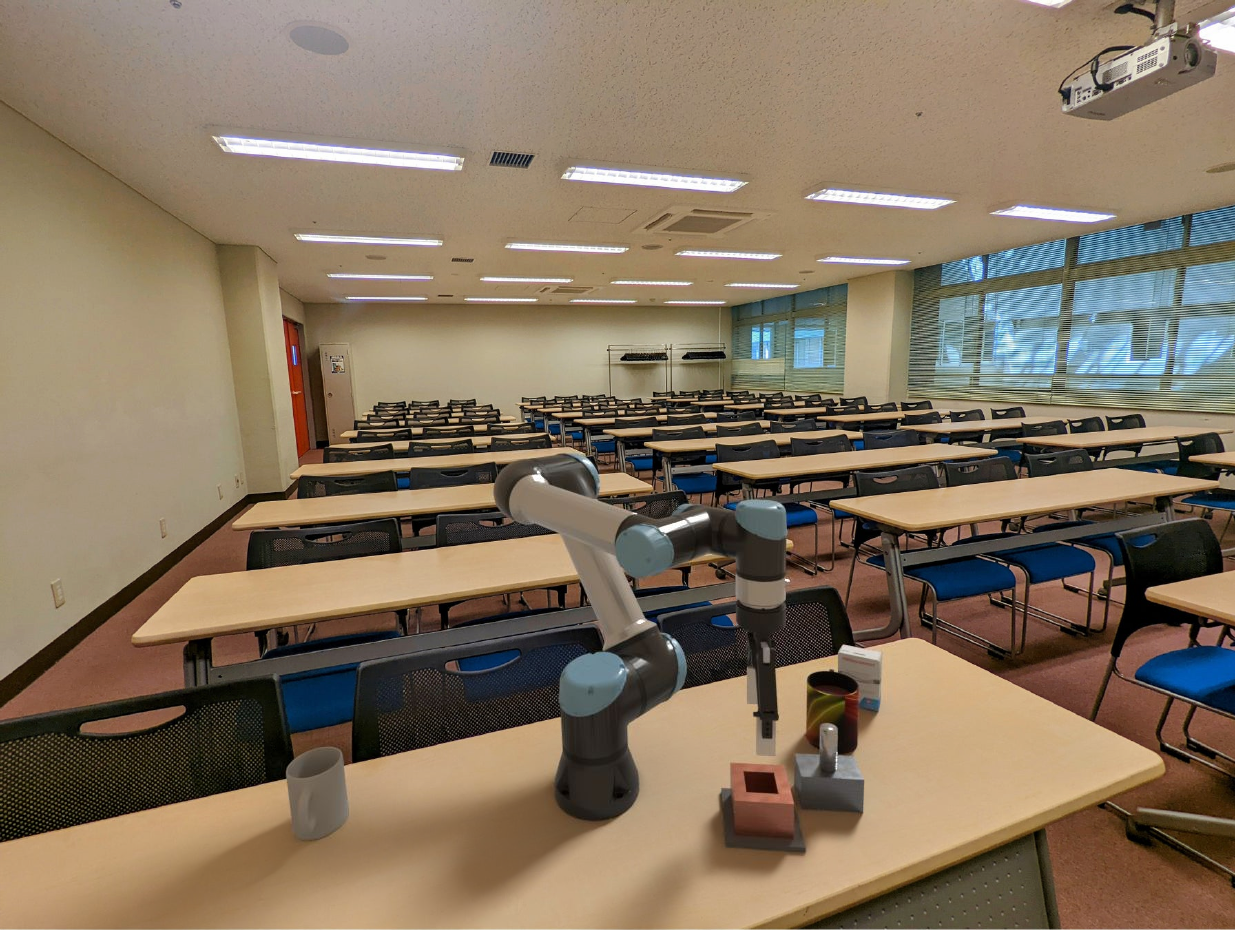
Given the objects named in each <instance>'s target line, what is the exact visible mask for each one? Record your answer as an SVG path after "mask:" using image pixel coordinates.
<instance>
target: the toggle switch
mask: <svg viewBox="0 0 1235 930" xmlns="http://www.w3.org/2000/svg"><path fill="white" fill-rule="evenodd" d="M837 740H838V729H837V727H836V726H835V725H833V724H829V723H823V724H821V725H820V750H819V754H818V753H817V754H816V753H796V752H795V753H794V775H793V776H794V777H793V778H794V779H793V780H794V781H793V782H794V783H793V784H794V788H795V791H796V796H797V799H798V803H799V807H800V810H808V811H809V810H811V811H827V812H843V813H846V812H847V813H861V814H863V813H864V804H865V803H864V800H865V799H864V797H865V779H864V776H863V774H862V771H861V770H860V767H859V765H858V763H857V761H856V758H855V756H854V755H842V754H837Z"/></svg>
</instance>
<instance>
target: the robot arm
mask: <svg viewBox="0 0 1235 930" xmlns="http://www.w3.org/2000/svg"><path fill="white" fill-rule="evenodd" d="M599 484H601V480H600V476H599V473H598V470H597V468H596V467H595V465H594V463H593V462H591V460H590V459H588V457H586V456H584V455H582V454H579V453H574V452H573V453H568V452H567V453H566V452H563V453H557V454H553V455H548V456H547V455H546V456H540V457H532V458H523V459H519V460H515V461H513V462H511V463H509V464H508V465H506V466H504V467H503V468H502V469H501V471H500V472H499V473H498V475H497V476H496V478H495V482H494V484H493V498H494V503H495V504H496V507H497V508H498V509H499V512H501V514H503V515H504V516H505V517H506V518H508V519H510V520H512V521H514V522H516V523H519V524H522V525H525V526H526V525H527V526H529V525H534V524H535V525H539V526H541V527H543V528H545V529H548V530H550V531H553V532H556V533H558V534H560V536H561V539H562V541H563V543H564V546H565V548H566V550H567V552H568V554H569V557H570V559H571V561H572V564H573V566H574V568H575V570H576V573H577V575H578V578H579V579H580V583H581V584H582V587H583V589H584V592H585V594H586V596H587V599H588V600H589V602H590V605H591V607H592V609H593V611H594V614H595V616H596V618H597V620H598V623H599V625H600V627H601V630H602V632H603V634H604V636H605V641H604V644H603V646H602V647H603V648H602V651H596V652H595V653H593V654H592V653H591V652H589V653H588V652H587V653H585V654H583V655H582V654H581V655H580V656H578V657H576V658H575V659H573V660H571V661H570V662H569V663H568V664H567V665H566V666H565V667H564V668H563V671H562V672H561V675H560V678H559V692H558V703H559V707H560V725H561V727H560V728H561V729H560V730H561V746H562V751H561V755H560V758H559V762H558V765H557V769H556V772H555V776H554V781H553V783H554V785H553V786H554V798H555V801H556V803H557V805H558V806H559V807H560V808H561V809H562V810H563V811H564V812H565V813H567V814H568V815H570V816H571V817H573V818H574V817H575V818H577V819H581V820H585V821H586V820H587V821H600V820H606V819H611V818H613V817H617V816H619V815H621V814H623V813H624V812H625V811H627V810H628V809H630V808H631V807H632V805H634V803H635V801H636V800H637V798H638V796H639V793H640V775H639V771H638V770H639V769H638V767H637V766H636V763H635V760H634V758H633V755H632V753H631V750H630V748H629V736H628V726H629V725H630V724H631V723H632V722H633V721H636V720H637V719H638V718H640V717H642V716H643V715H645V714H647V713H648V712H649V711H651V710H653V709H654V708H656V707H658V706H659V705H660V704H661V703H665V702H667V701H669V700H670V699H671V698H672V696H675V694H677V693H679V691H680V690H682V687H683V686H684V684H685V681H686V676H687V668H688V667H687V661H686V656H685V653H684V650H683V649H682V646H681V644H680V643H679V642H678V641H677V639H675V638H672V636H671V635H670V634H668V633H665V632H661V631H660V629H659V627H658V624H657V623H656V622H653V621H651V620H648V619H647V618H646V617H645V615H644V613H643V611H642V609H641V607H640V605H639V602H638V600H637V598H636V596H635V594H634V592H633V589H632V587H631V585H630V584H629V581H628V578H627V577H626V575H628V576H630V577H633V578H636V579H643V578H644V579H645V578H648V577H653V576H658V575H660V574H662V573H665V572H667V571H668V570H670V569H673V568H675V567H678V566H680V565H683V564H686V563H688V562H690V561H691V562H692V561H693V560H696V559H698V558H701V557H704V556H706V555H715V556H719V557H724V558H729V559H735V597H736V601H735V621H736V623H737V625H738V626H739V627H740V628H742V629H743V630H745V631H746V634H745V636H746V647H745V652H744V653H745V656H746V663H747V665H748V666H746V704H747V705H757V711H753V712H752V717H753V718H756V721H755V722H756V724H755V727H756V729H755V731H756V733H755V736H756V737H755V744H756V745H755V747H756V748H755V751H756V756H763V757H776V756H777V755H776V754H777V753H776V751H777V750H776V746H777V744H776V743H777V742H776V738H777V737H776V736H777V735H776V734H777V732H776V731H777V722H778V721H779V718H780V715H779V709H778V707H779V706H778V689H777V674H776V673H777V671H776V654H777V650H776V641H775V640H776V639H774V638H773V633H776V632H779V631H781V630H783V629H784V628H785V626H786V624H787V623H786V622H787V621H786V620H787V617H786V616H787V614H786V613H787V605H786V603H785V601H786V593H787V592H786V591H787V590H786V587H789V586H790V584H791V582H790V580H789V579H786V576H787V568H786V565H787V537H788V534H789V533H788V532H789V531H788V529H787V527H788V526H787V511H786V508H785V506H784V505H783V504H782V503H780V502H779V501H775V500H771V499H755V498H754V499H746V500H741V501H740V502H738V503H737V505H736V506H735V510H732V509H731V510H730V509H725V508H720V507H714V506H707V505H705V504H704V505H703V504H701V503H696V504H691V503H683V504H681V505H679V506H677V508H676V510H674V511H673V512H672V514H671V515H670V516H668V517H663V518H659V519H658V518H651V517H649V516H645V515H643V514H639V513H636V512H633V511H631V510H628V509H624V508H621V507H618V506H615V505H612V504H610V503H609V504H608V503H606V502H603V501H600V500H598V496H599V493H600V490H601V486H600V485H599ZM624 572H625V573H624ZM625 574H626V575H625Z"/></svg>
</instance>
